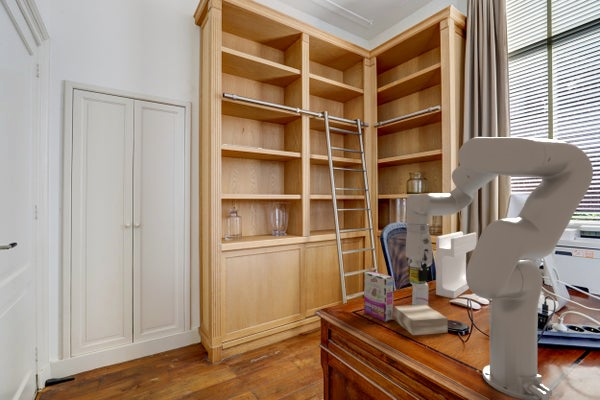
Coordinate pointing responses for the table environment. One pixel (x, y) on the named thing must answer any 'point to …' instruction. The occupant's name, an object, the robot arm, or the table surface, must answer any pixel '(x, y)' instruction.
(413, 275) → the supplement bottle
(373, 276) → the candy bar box
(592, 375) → the table surface
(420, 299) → the ink box
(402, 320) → the base block
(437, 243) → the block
